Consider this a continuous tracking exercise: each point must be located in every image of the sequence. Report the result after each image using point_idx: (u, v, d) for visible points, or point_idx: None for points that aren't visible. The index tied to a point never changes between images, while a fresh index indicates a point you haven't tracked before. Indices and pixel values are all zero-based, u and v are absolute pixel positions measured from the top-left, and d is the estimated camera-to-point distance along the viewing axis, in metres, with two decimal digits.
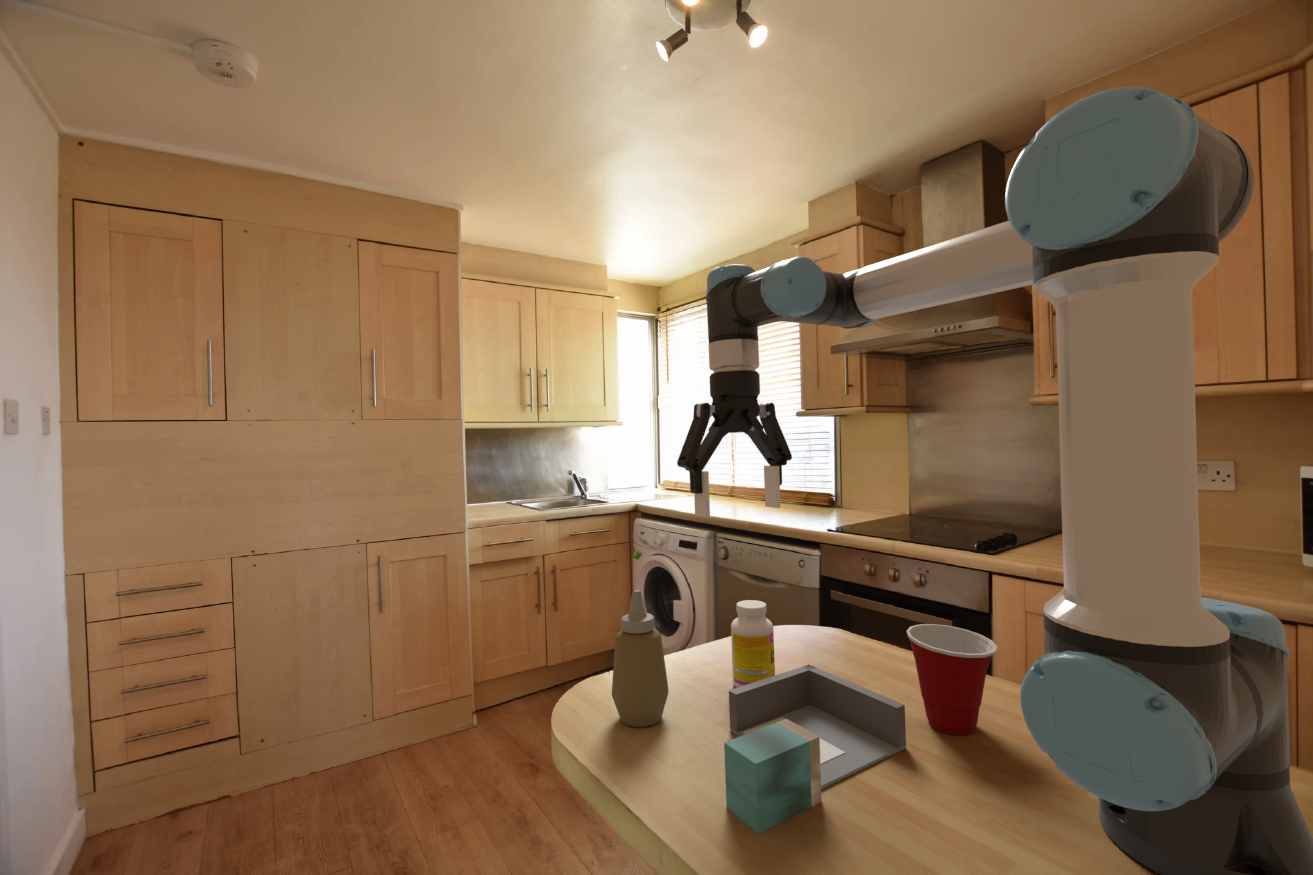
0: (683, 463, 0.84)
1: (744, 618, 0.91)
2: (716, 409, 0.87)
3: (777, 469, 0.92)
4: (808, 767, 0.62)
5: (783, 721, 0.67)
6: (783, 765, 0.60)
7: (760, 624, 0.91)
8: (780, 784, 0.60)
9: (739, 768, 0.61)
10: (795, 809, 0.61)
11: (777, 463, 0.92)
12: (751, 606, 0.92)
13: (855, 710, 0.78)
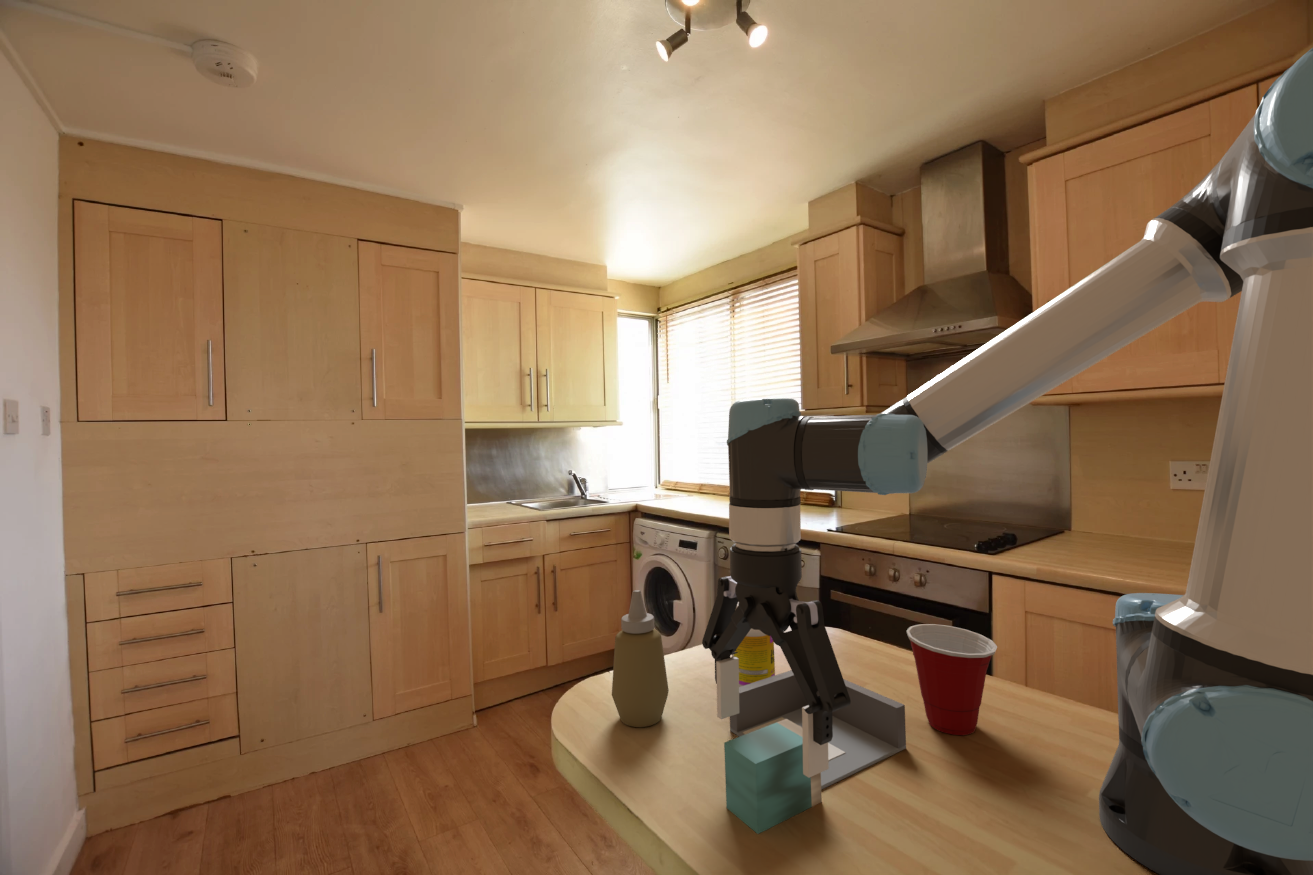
0: None
1: None
2: None
3: (804, 714, 0.57)
4: None
5: (783, 721, 0.67)
6: (783, 765, 0.60)
7: None
8: (780, 784, 0.60)
9: (739, 769, 0.61)
10: (795, 810, 0.61)
11: (811, 705, 0.56)
12: None
13: (855, 710, 0.78)
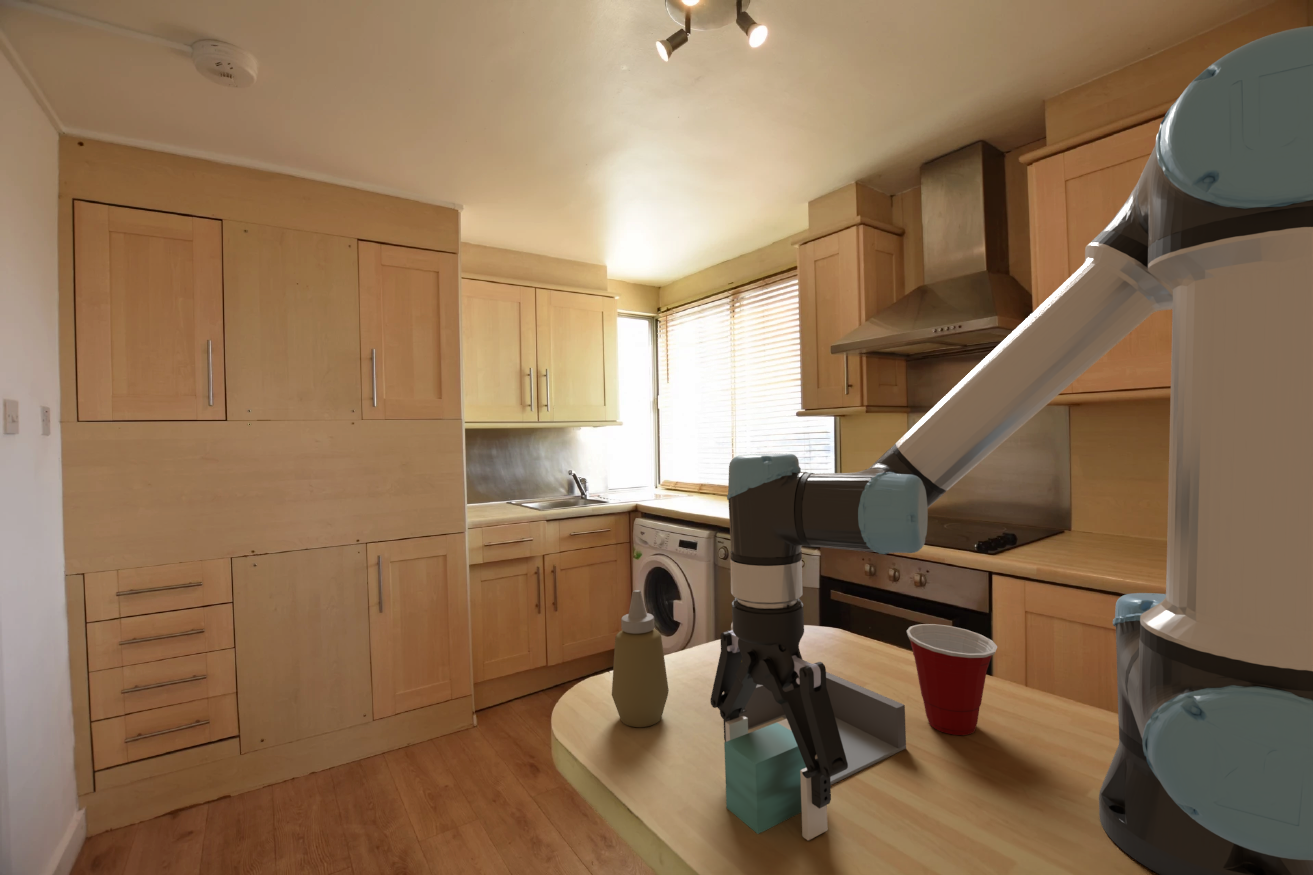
0: None
1: None
2: None
3: (803, 777, 0.57)
4: None
5: (783, 721, 0.67)
6: (783, 765, 0.60)
7: None
8: (780, 784, 0.60)
9: (739, 769, 0.61)
10: (795, 810, 0.61)
11: None
12: None
13: (855, 710, 0.78)
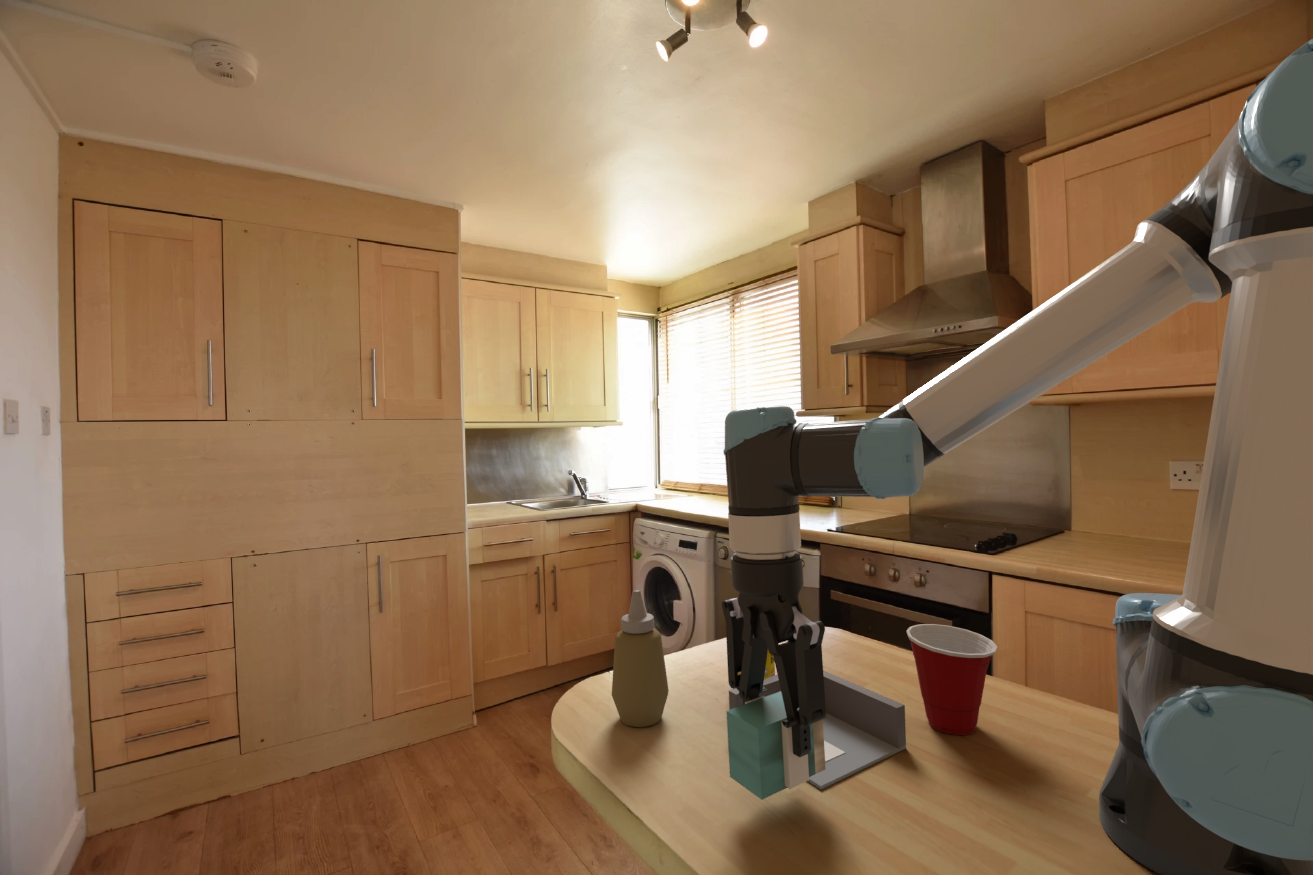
0: None
1: None
2: None
3: (783, 728, 0.60)
4: (811, 734, 0.62)
5: None
6: None
7: None
8: None
9: (742, 736, 0.60)
10: None
11: (788, 716, 0.60)
12: None
13: (855, 710, 0.78)
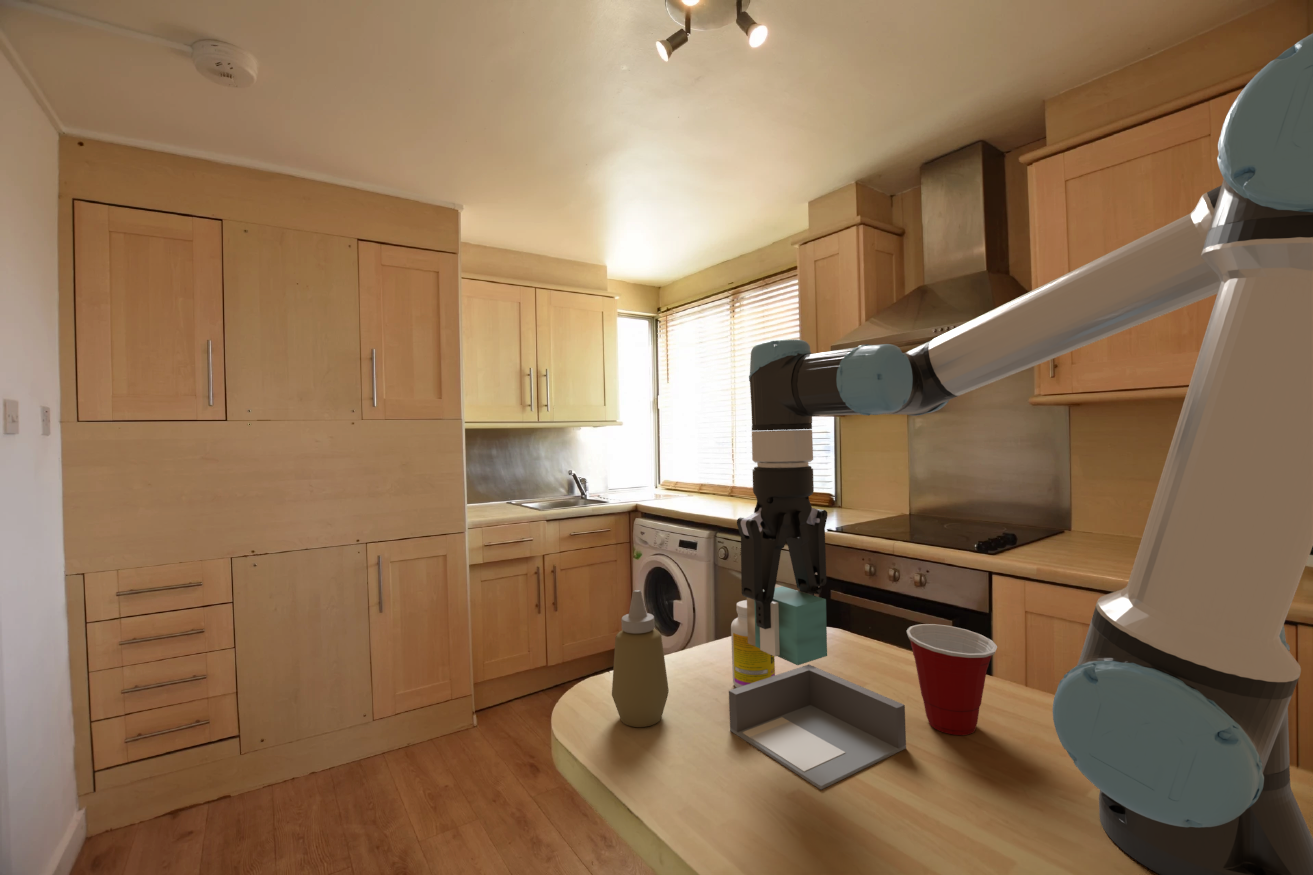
0: (750, 597, 0.71)
1: (744, 618, 0.91)
2: (763, 517, 0.72)
3: None
4: None
5: None
6: None
7: None
8: None
9: (811, 617, 0.71)
10: None
11: (809, 589, 0.76)
12: None
13: (855, 710, 0.78)
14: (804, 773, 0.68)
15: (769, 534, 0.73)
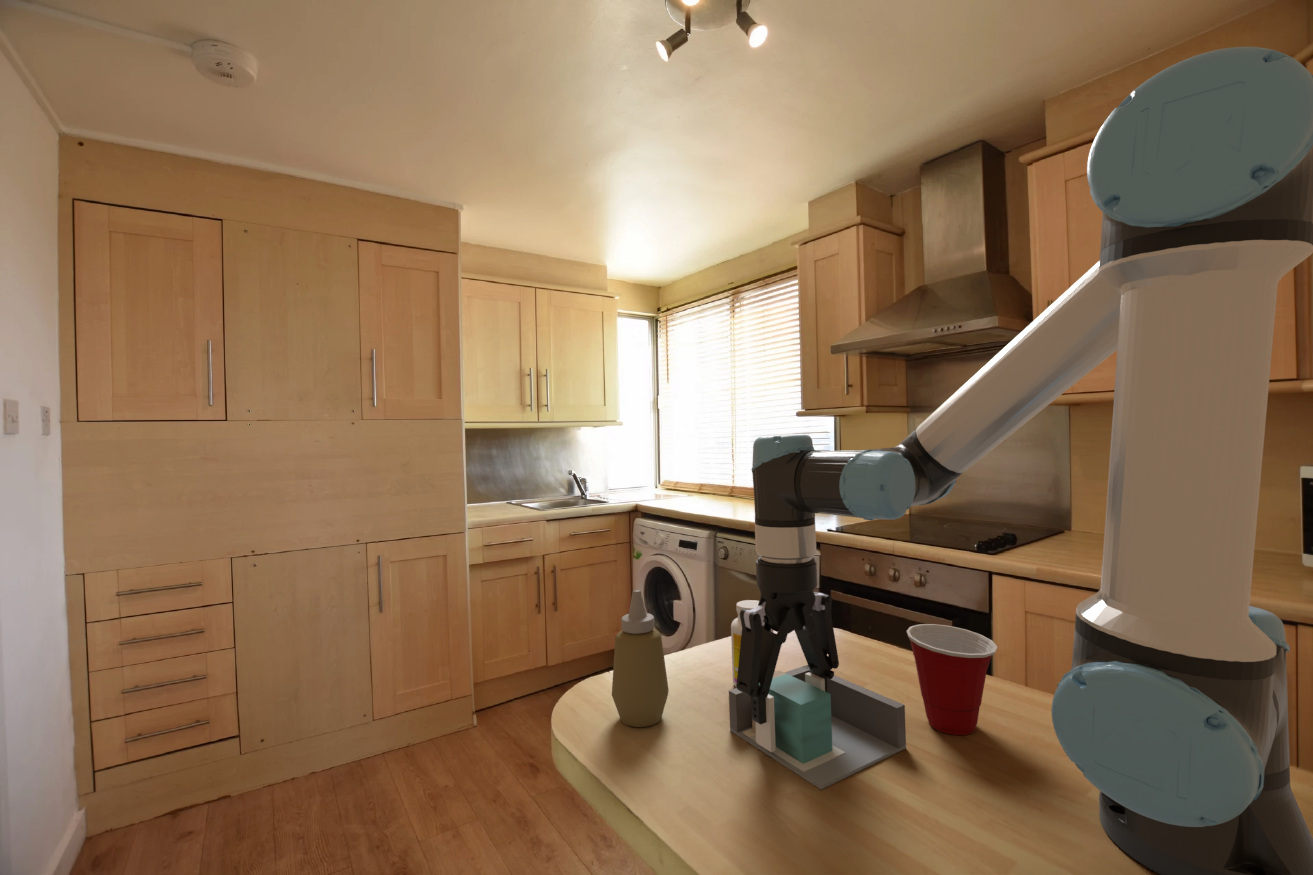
0: (745, 692, 0.70)
1: None
2: (767, 612, 0.72)
3: (822, 683, 0.76)
4: None
5: None
6: None
7: None
8: None
9: (816, 713, 0.71)
10: None
11: (822, 673, 0.76)
12: (751, 606, 0.92)
13: (855, 710, 0.78)
14: (804, 773, 0.68)
15: (773, 628, 0.73)
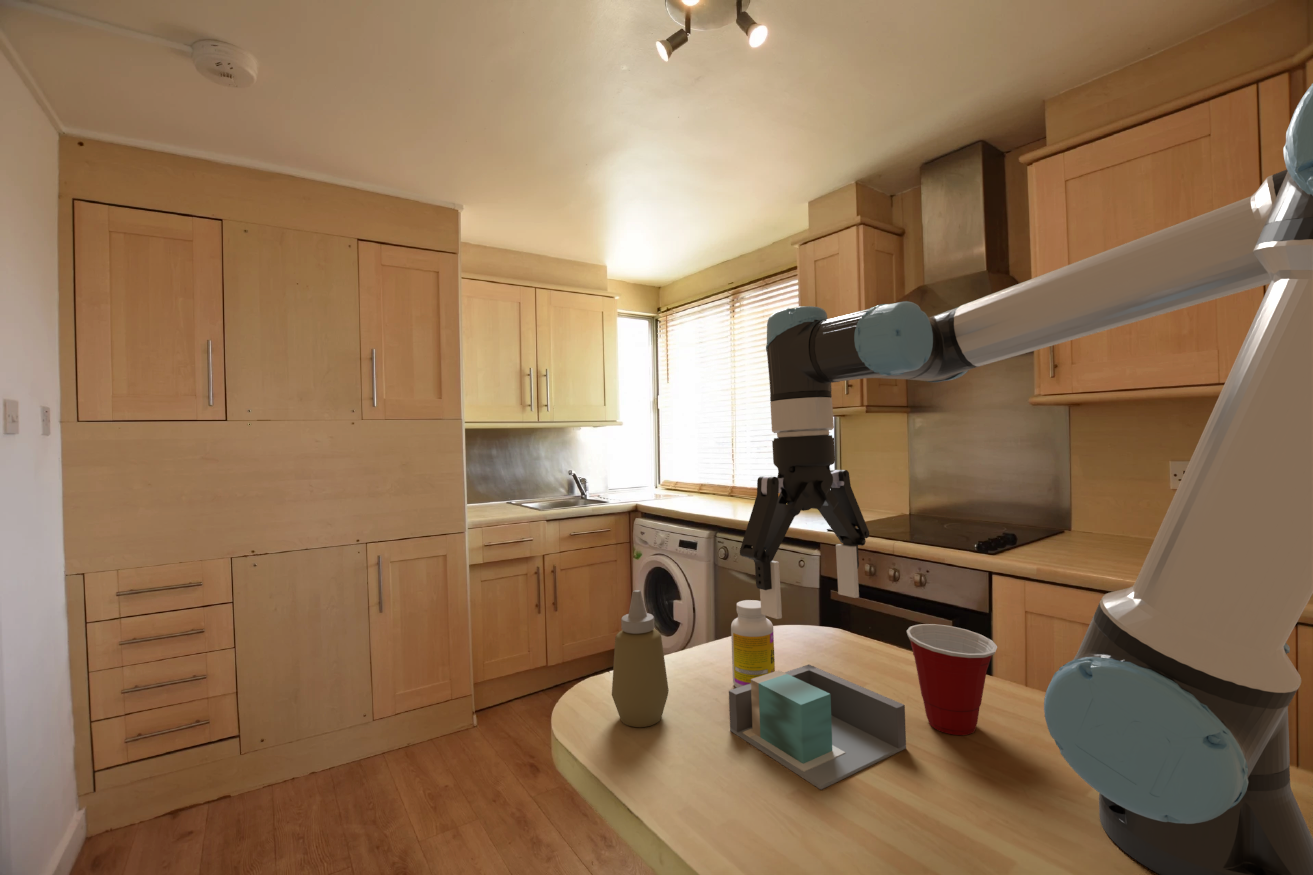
0: (749, 553, 0.67)
1: (744, 618, 0.91)
2: (785, 483, 0.71)
3: (854, 550, 0.76)
4: None
5: (756, 680, 0.77)
6: None
7: (760, 624, 0.91)
8: None
9: (816, 713, 0.71)
10: None
11: (853, 543, 0.76)
12: (751, 606, 0.92)
13: (855, 710, 0.78)
14: (804, 773, 0.68)
15: None
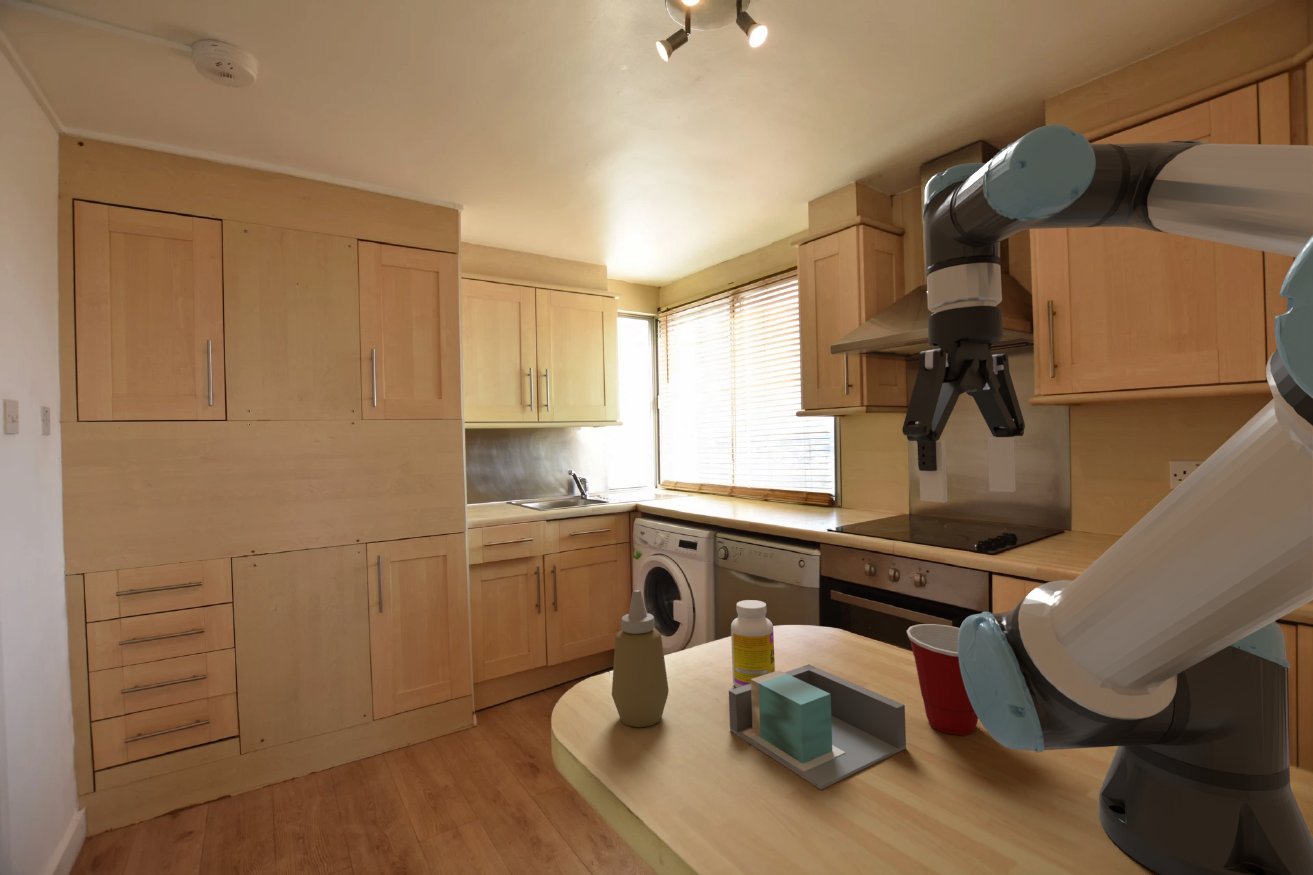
0: (916, 429, 0.62)
1: (744, 618, 0.91)
2: (950, 358, 0.64)
3: (1012, 441, 0.70)
4: None
5: (756, 680, 0.77)
6: None
7: (760, 624, 0.91)
8: None
9: (816, 713, 0.71)
10: None
11: (1010, 433, 0.70)
12: (751, 606, 0.92)
13: (855, 710, 0.78)
14: (804, 773, 0.68)
15: None
